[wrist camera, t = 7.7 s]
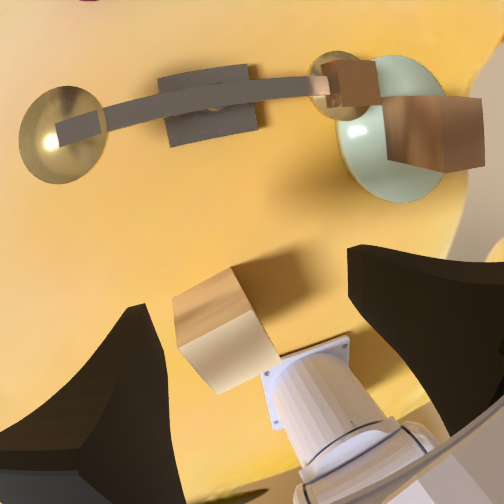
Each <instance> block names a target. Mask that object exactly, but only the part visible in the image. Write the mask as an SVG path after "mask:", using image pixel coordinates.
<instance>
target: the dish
mask: <svg viewBox="0 0 504 504" xmlns="http://www.w3.org/2000/svg"><path fill="white" fill-rule="evenodd" d="M369 61H375V62H376V68H377V74H378V81H379V87H380V95H381V97H395V96H446V95H445V93H444V91H443V89H442V87H441V86H440V84H439V83H438V81H437V80H436V78H435V77H434V76H433V75H432V74H431V73H430V72H429V71H428V70H427V69H426V68H425V67H424V66H422V65H421V64H420V63H418V62H416V61H414V60H412V59H410V58H407V57H403V56H398V55H389V56H383V57H379V58H374V59H372V60H369ZM335 124H336V136H337V142H338V146H339V150H340V153H341V156H342V158H343V161H344V163H345V165H346V167H347V169H348V171H349V173H350V174H351V175H352V177H353V178H354V179H355V181H356V182H357V183H358V184H359V185H360V186H361V187H362V188H363V189H365V190H366V191H367V192H369V193H370V194H372V195H374V196H376V197H379V198H382V199H384V200H387V201H389V202H394V203H409V202H413V201H416V200H418V199H420V198H422V197H424V196H425V195H427V194H428V193H429V192H430V191H431V190H433V189H434V188H435V186H436V185H437V184H438V183H439V181H440V180H441V178H442V177H443V175H444V173H441V172H437V171H433V170H429V169H425V168H421V167H417V166H412V165H408V164H404V163H399V162H395V161H390V160H387V149H386V138H385V129H384V120H383V111H382V105H372V106H370V107H369V109H368V110H367V111H366V113H365V114H364V115H363V116H361V117H360V118H358V119H355V120H352V121H336V123H335Z"/></svg>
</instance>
